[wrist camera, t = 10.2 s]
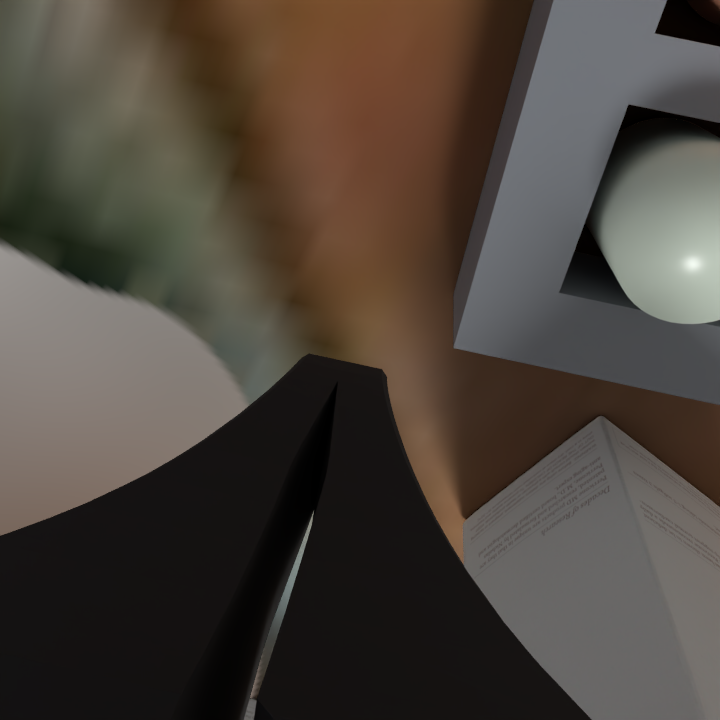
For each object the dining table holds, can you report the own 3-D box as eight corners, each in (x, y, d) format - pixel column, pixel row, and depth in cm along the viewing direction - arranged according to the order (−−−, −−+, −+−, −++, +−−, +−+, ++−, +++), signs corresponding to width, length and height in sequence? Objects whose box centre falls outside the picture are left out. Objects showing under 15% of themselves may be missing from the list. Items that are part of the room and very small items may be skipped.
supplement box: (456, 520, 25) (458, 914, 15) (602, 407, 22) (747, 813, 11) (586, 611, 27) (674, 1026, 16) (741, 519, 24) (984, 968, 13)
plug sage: (561, 239, 19) (589, 305, 15) (608, 104, 17) (655, 139, 13) (688, 265, 19) (750, 338, 15) (751, 133, 17) (842, 177, 13)
